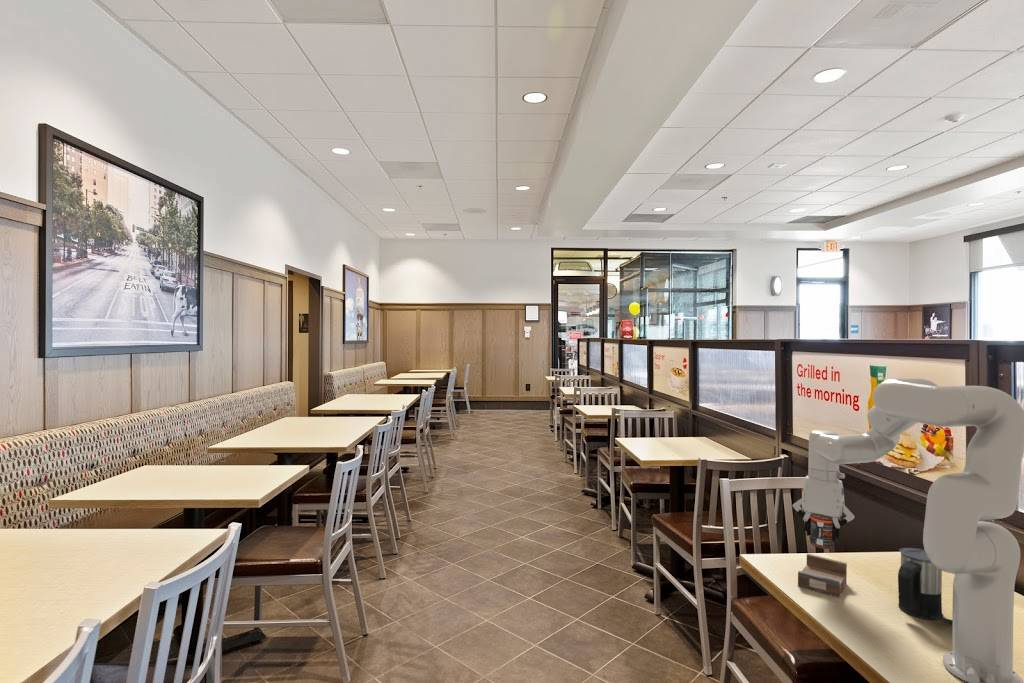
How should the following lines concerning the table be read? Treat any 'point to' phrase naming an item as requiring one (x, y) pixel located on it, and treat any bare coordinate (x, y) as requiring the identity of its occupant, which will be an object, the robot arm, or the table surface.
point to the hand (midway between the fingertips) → (821, 536)
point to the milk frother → (920, 585)
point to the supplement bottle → (821, 531)
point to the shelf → (823, 575)
